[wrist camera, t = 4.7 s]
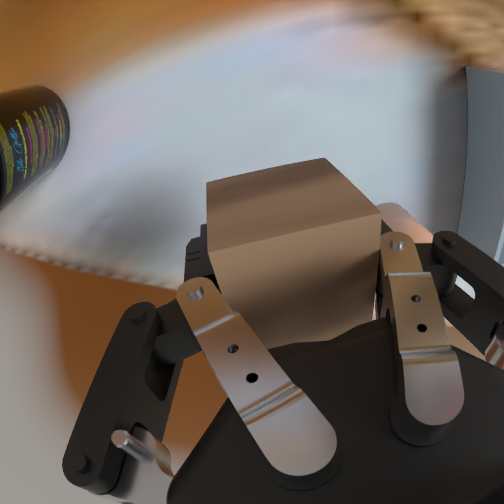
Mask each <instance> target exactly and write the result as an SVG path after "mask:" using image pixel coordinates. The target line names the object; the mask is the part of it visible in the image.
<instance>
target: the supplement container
mask: <svg viewBox="0 0 504 504" xmlns="http://www.w3.org/2000/svg"><path fill="white" fill-rule="evenodd" d="M69 137H70V121H69V116H68V112H67V109H66V107H65V105H64V103H63V102H62V100H61V99H60V98H59V96H58V95H57V94H55V93H54V92H53V91H52V90H50V89H48V88H46V87H43V86H38V85H33V86H26V87H21V88H17V89H12V90H8V91H3V92H0V215H1V214H2V213H3V212H4V211H5V210H6V209H7V208H8V207H9V206H10V205H11V204H13V203H14V202H15V201H16V200H17V199H18V198H19V197H20V196H21V195H23V194H24V193H25V192H26V191H27V190H28V189H30V188H31V187H32V186H33V185H34V184H35V183H37V182H38V181H39V180H40V179H42V178H43V177H44V176H45V175H46V174H48V173H49V172H50V171H51V170H53V169H54V168H55V167H56V166H57V165H58V164H59V162H60V161H61V159H62V158H63V156H64V154H65V152H66V149H67V146H68V142H69Z"/></svg>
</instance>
